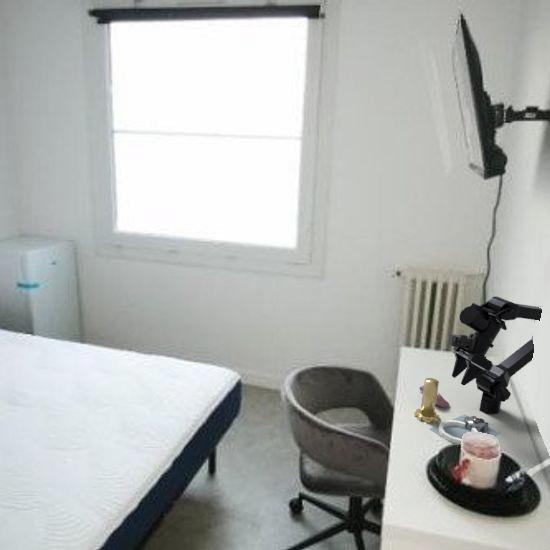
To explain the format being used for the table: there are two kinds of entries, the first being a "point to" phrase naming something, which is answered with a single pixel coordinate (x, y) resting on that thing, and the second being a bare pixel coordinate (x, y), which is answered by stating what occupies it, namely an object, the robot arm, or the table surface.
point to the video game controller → (437, 399)
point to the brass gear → (428, 402)
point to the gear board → (456, 430)
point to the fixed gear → (476, 423)
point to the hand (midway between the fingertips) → (457, 380)
